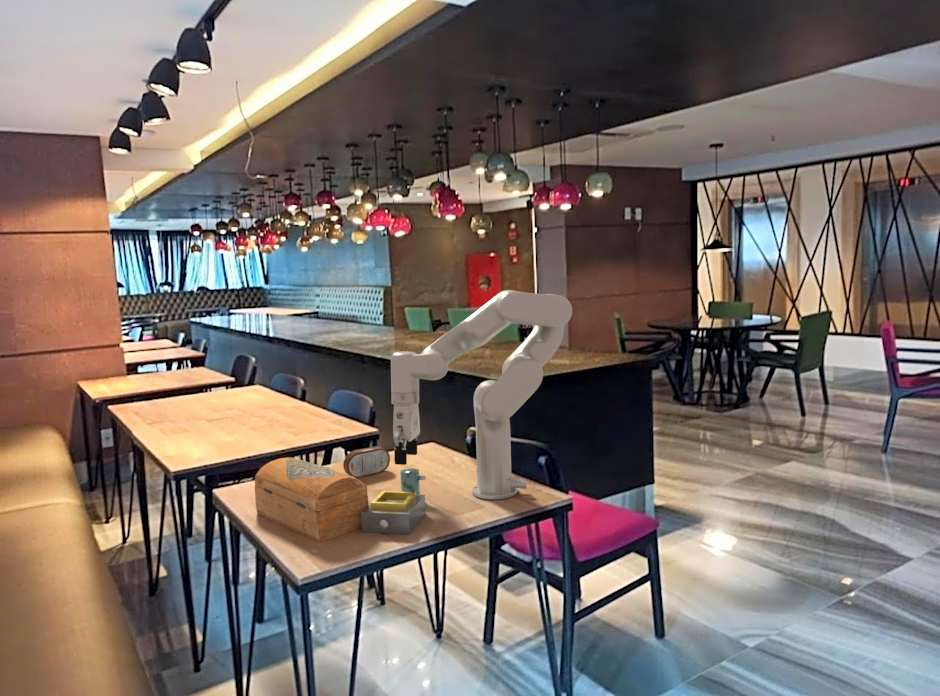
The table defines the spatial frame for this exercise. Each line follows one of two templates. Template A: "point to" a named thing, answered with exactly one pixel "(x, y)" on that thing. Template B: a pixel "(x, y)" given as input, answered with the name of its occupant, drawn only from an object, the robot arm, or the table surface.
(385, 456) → the tin
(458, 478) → the table surface
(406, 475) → the spout can
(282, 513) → the wooden box
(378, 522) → the grey yellow box
